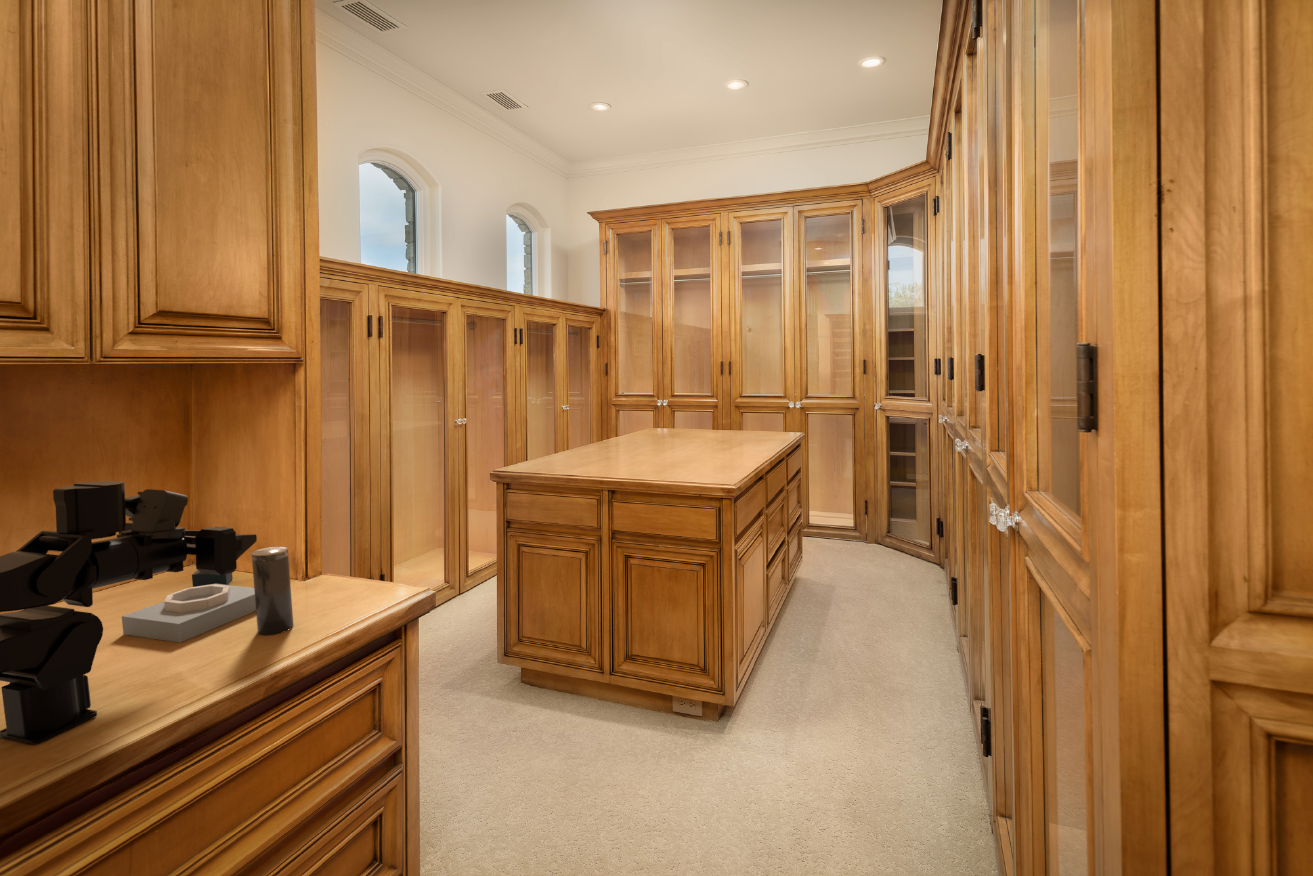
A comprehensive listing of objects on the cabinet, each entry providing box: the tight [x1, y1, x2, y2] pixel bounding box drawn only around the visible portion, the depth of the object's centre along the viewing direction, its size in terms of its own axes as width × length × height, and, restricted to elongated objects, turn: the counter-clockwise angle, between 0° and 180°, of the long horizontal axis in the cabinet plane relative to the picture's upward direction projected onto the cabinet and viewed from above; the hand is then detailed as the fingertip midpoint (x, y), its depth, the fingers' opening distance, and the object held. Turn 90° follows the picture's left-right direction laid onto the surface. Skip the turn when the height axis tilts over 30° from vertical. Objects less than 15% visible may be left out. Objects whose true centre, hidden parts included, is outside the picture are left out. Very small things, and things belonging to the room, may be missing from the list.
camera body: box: [121, 584, 256, 643], centre depth 108 cm, size 16×12×4 cm
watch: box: [191, 569, 234, 587], centre depth 124 cm, size 6×8×11 cm
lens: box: [251, 546, 294, 636], centre depth 103 cm, size 5×5×13 cm
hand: (232, 535), depth 98 cm, fingers open, 9 cm apart
